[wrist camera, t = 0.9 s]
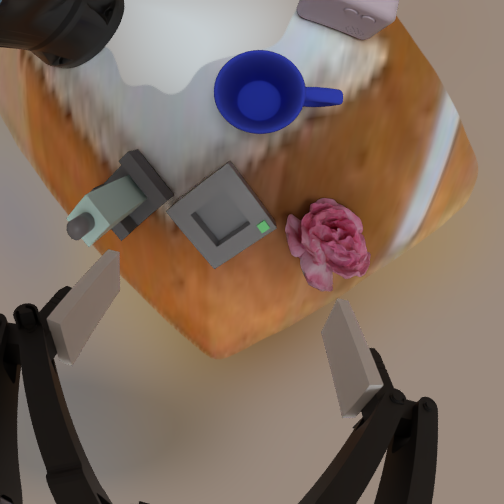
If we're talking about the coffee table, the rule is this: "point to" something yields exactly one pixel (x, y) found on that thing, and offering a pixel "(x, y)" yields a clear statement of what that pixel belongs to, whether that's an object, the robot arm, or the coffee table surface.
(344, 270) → the flower
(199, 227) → the port
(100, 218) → the plug
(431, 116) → the coffee table surface
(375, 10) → the electronic device
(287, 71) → the mug
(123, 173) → the holster
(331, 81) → the coffee table surface
